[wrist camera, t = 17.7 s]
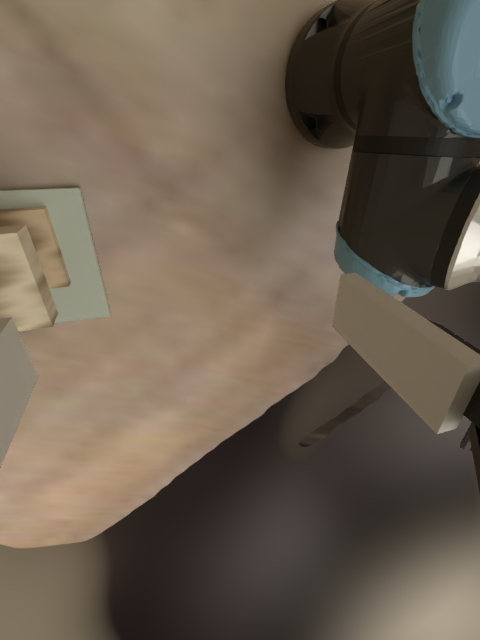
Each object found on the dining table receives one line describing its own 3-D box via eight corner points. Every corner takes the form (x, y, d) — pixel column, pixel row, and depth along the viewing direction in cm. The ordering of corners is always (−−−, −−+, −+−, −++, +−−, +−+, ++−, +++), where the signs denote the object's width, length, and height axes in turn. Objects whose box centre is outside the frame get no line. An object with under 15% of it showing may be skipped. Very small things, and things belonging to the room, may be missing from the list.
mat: (80, 187, 39) (79, 188, 38) (110, 313, 48) (110, 316, 47) (-98, 193, 34) (-103, 195, 34) (-27, 331, 44) (-29, 334, 43)
